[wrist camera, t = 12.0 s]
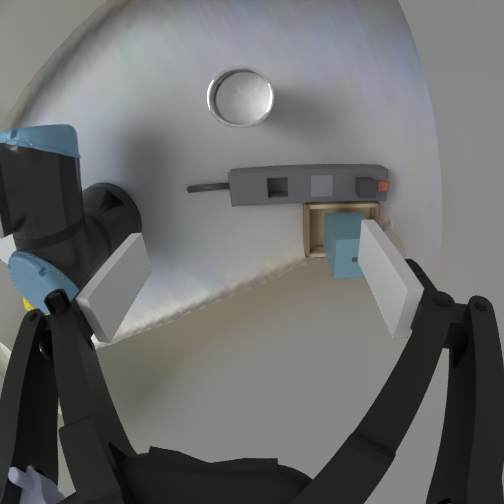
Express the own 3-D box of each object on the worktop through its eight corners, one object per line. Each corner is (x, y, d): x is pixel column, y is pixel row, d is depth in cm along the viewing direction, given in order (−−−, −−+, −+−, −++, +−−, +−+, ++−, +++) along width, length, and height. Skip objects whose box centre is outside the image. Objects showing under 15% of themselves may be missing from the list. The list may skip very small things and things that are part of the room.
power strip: (190, 202, 45) (180, 216, 40) (185, 174, 43) (174, 184, 38) (378, 193, 42) (391, 206, 37) (379, 164, 40) (394, 173, 35)
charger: (320, 240, 47) (333, 279, 36) (321, 207, 44) (336, 240, 33) (354, 238, 46) (374, 277, 36) (356, 206, 43) (380, 238, 33)
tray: (303, 247, 48) (305, 257, 45) (303, 198, 44) (305, 205, 41) (368, 244, 47) (374, 253, 44) (372, 196, 43) (379, 203, 40)
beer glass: (219, 112, 38) (193, 114, 25) (239, 72, 34) (223, 54, 21) (261, 130, 39) (256, 141, 26) (282, 91, 36) (288, 81, 23)
